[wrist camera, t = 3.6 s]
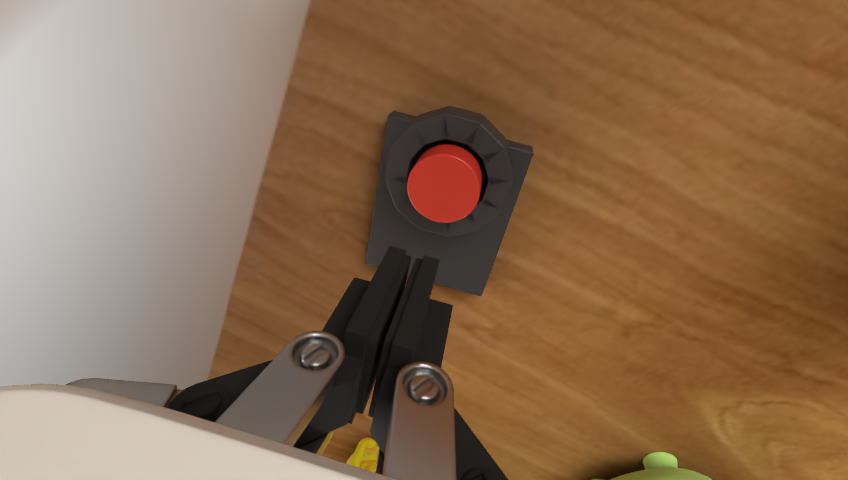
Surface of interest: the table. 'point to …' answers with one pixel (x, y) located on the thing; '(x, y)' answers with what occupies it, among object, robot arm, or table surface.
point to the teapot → (661, 470)
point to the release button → (445, 183)
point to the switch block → (455, 241)
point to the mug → (365, 455)
